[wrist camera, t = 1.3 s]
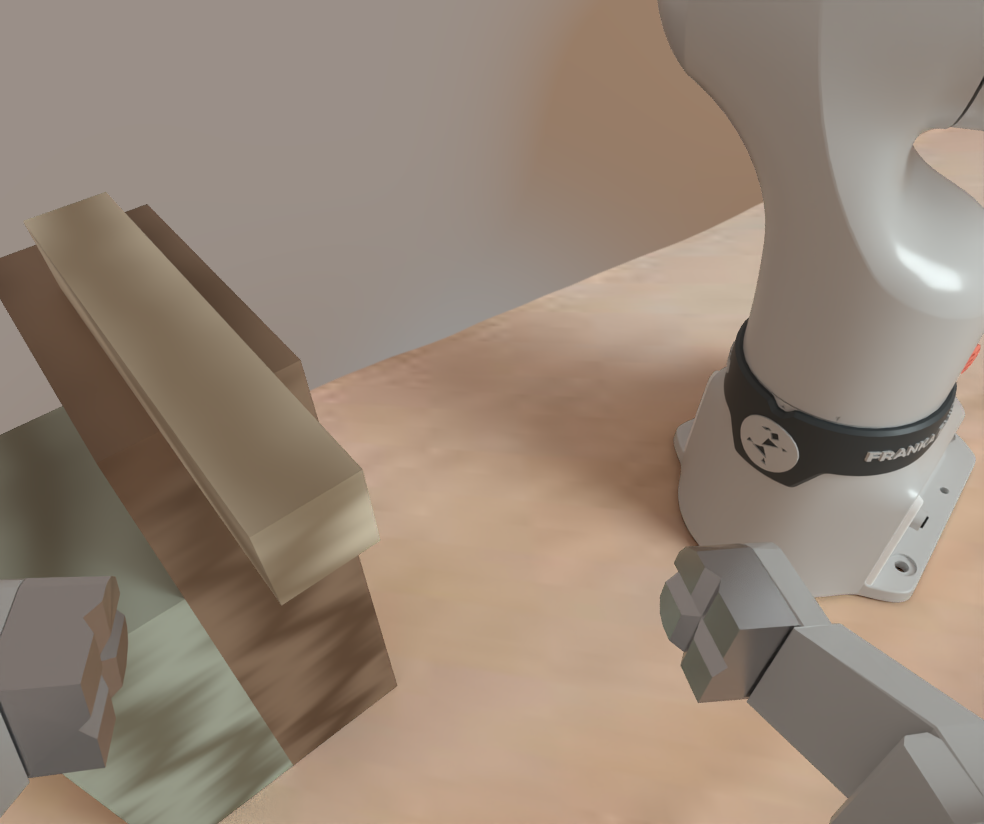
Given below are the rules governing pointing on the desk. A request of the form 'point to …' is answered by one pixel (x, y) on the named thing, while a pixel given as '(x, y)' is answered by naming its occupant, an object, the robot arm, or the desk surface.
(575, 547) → the desk surface
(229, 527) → the beech bar
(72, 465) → the stepped stand
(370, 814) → the desk surface
